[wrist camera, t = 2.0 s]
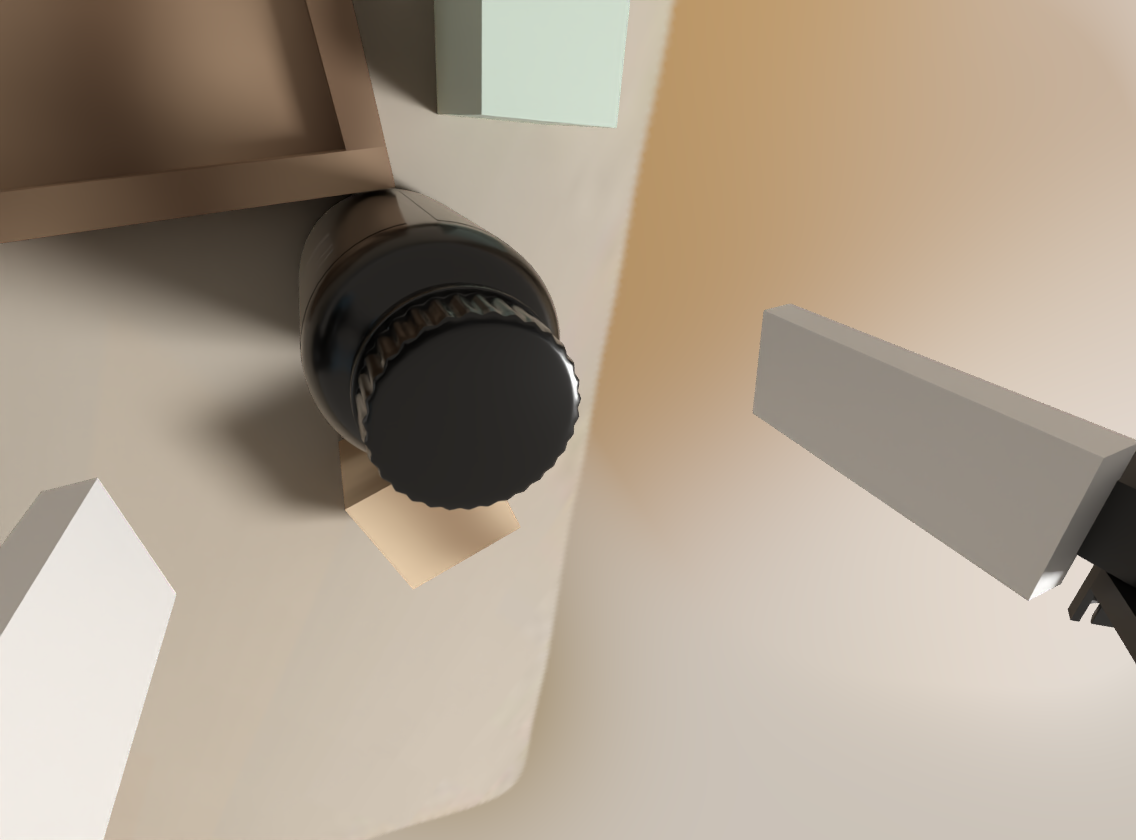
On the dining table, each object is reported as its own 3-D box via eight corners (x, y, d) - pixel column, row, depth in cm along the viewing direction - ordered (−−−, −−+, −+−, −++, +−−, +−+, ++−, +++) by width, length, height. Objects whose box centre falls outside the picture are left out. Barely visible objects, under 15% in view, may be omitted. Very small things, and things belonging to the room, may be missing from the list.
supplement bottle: (386, 393, 23) (443, 596, 13) (254, 260, 19) (198, 415, 9) (515, 295, 23) (663, 425, 13) (412, 143, 19) (519, 174, 9)
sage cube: (437, 114, 19) (481, 114, 14) (432, -31, 17) (482, -87, 12) (543, 124, 20) (616, 128, 16) (550, -8, 19) (635, -50, 14)
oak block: (396, 516, 26) (413, 589, 22) (338, 440, 23) (344, 509, 19) (488, 465, 27) (520, 527, 23) (443, 385, 24) (470, 441, 20)
